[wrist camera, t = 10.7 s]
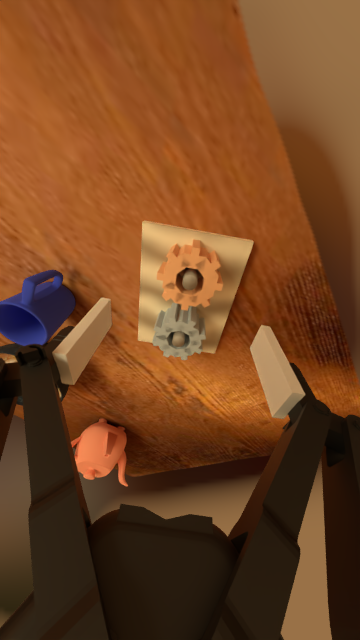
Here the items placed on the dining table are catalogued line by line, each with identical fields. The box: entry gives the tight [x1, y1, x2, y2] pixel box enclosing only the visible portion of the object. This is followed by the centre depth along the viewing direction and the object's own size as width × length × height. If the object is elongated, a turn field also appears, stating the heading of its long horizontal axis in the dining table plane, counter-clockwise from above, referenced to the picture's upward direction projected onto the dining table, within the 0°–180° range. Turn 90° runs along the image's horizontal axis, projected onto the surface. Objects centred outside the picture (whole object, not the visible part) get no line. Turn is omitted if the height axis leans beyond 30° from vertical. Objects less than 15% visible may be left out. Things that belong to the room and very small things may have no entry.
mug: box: [0, 270, 75, 346], centre depth 31 cm, size 8×12×10 cm
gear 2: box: [152, 303, 206, 360], centre depth 34 cm, size 9×9×5 cm
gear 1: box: [157, 239, 223, 311], centre depth 28 cm, size 9×9×5 cm
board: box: [138, 221, 254, 354], centre depth 31 cm, size 22×16×7 cm
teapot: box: [71, 418, 128, 486], centre depth 58 cm, size 16×17×14 cm
